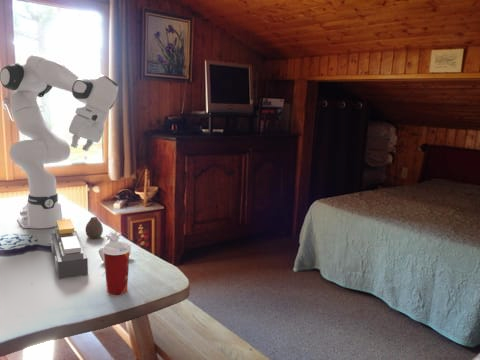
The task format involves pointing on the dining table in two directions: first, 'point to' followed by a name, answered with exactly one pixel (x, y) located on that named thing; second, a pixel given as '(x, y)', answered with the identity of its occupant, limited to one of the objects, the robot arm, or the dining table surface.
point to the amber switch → (65, 226)
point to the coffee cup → (116, 267)
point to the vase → (94, 228)
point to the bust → (113, 238)
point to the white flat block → (70, 244)
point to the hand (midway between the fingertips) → (79, 148)
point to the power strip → (70, 265)
